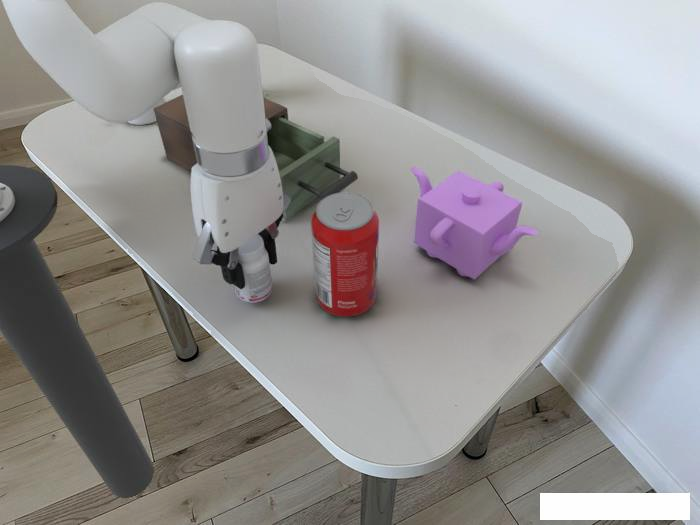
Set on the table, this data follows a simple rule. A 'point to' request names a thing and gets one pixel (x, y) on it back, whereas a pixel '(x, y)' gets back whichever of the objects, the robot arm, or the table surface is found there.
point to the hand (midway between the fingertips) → (251, 269)
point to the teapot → (466, 222)
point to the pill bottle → (254, 271)
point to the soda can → (345, 253)
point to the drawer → (306, 164)
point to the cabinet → (179, 133)
